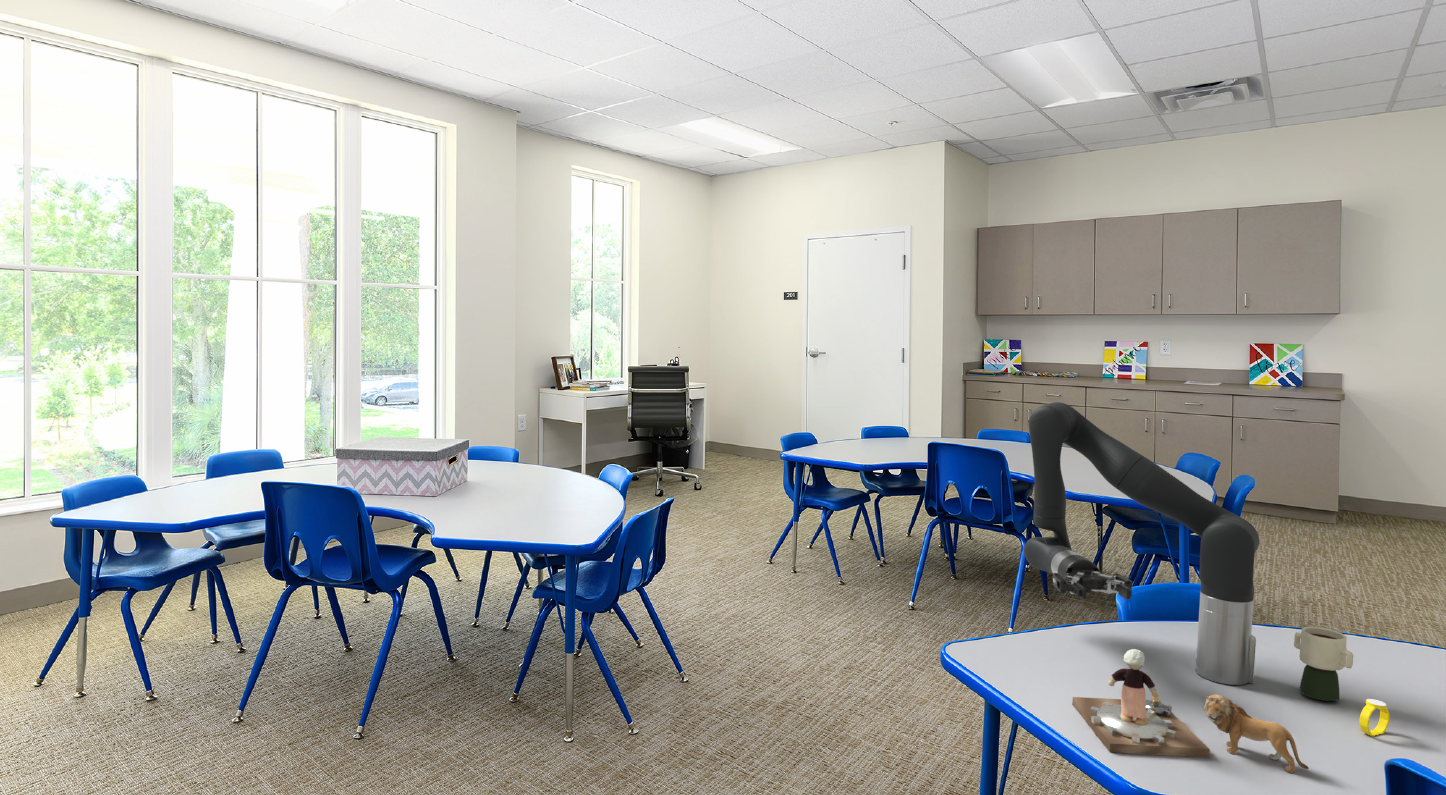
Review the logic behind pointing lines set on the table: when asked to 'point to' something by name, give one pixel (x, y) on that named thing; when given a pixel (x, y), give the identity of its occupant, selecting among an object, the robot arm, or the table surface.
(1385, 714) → the watch
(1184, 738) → the gear board
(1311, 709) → the table surface
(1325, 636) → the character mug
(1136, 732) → the gear
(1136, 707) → the grandmother figurine
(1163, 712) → the gear
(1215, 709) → the lion figurine
